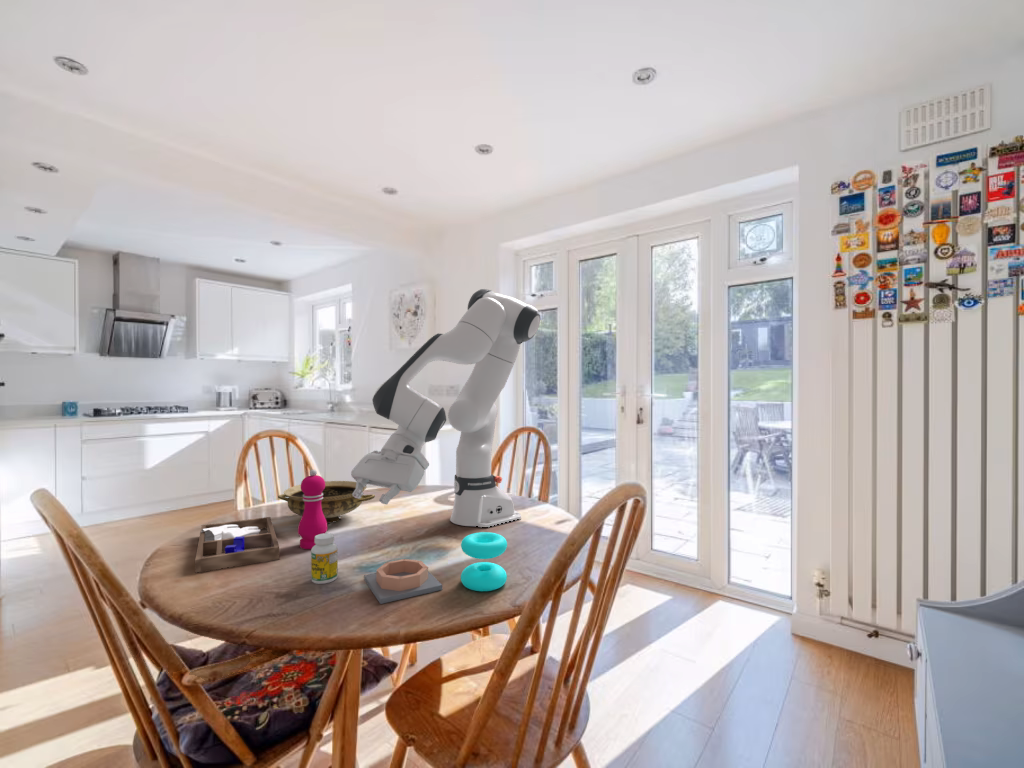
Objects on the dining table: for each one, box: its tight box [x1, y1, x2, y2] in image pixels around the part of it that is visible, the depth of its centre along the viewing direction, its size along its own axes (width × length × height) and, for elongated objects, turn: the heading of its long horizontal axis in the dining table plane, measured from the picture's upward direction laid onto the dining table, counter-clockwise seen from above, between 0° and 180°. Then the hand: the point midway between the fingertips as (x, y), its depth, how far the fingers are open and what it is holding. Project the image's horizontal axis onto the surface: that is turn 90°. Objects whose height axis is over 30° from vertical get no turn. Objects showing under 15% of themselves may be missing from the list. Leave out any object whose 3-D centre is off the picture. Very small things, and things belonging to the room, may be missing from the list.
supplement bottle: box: [310, 532, 339, 585], centre depth 104 cm, size 5×5×10 cm
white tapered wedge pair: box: [200, 525, 261, 542], centre depth 128 cm, size 12×4×11 cm
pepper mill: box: [297, 469, 328, 550], centre depth 125 cm, size 7×7×20 cm
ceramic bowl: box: [277, 480, 376, 524], centre depth 148 cm, size 30×24×10 cm
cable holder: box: [224, 536, 245, 554], centre depth 117 cm, size 8×4×4 cm, turn 14°
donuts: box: [460, 531, 508, 592], centre depth 103 cm, size 10×10×10 cm
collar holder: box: [363, 558, 443, 605], centre depth 102 cm, size 13×13×4 cm
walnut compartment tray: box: [194, 516, 280, 574], centre depth 124 cm, size 17×29×3 cm, turn 31°
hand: (368, 499), depth 114 cm, fingers open, 8 cm apart
